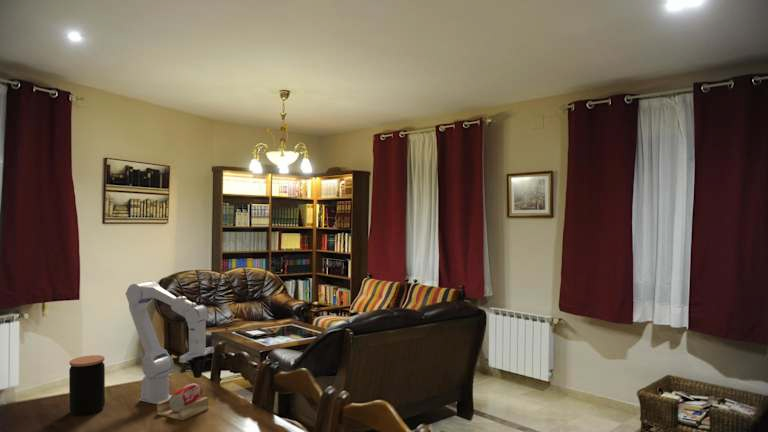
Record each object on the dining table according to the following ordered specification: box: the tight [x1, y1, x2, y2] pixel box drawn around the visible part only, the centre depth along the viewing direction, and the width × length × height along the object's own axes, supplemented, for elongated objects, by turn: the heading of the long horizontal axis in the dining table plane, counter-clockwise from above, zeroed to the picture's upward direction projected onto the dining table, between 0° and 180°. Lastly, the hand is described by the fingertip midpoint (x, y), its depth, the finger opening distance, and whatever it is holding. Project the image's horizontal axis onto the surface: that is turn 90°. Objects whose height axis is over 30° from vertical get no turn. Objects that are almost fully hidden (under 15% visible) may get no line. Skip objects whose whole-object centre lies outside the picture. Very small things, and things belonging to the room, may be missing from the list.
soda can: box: [169, 382, 203, 412], centre depth 178 cm, size 7×7×12 cm
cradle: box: [156, 396, 209, 421], centre depth 177 cm, size 12×12×4 cm
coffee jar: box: [68, 354, 106, 417], centre depth 178 cm, size 11×11×18 cm
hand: (197, 377), depth 183 cm, fingers closed
